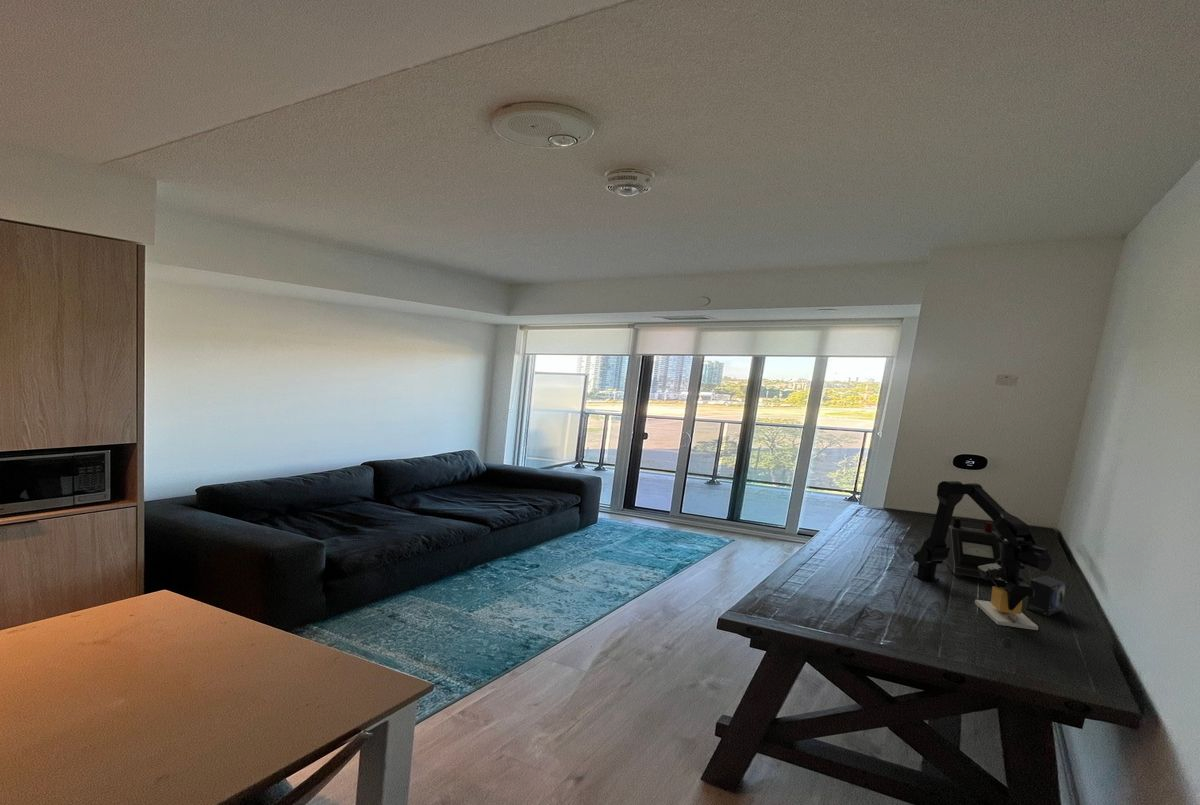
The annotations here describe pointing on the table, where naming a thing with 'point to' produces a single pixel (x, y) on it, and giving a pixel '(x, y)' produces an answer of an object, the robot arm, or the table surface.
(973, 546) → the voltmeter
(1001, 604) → the mustard yellow cube
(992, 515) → the robot arm
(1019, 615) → the plate
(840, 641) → the table surface
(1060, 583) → the small box
